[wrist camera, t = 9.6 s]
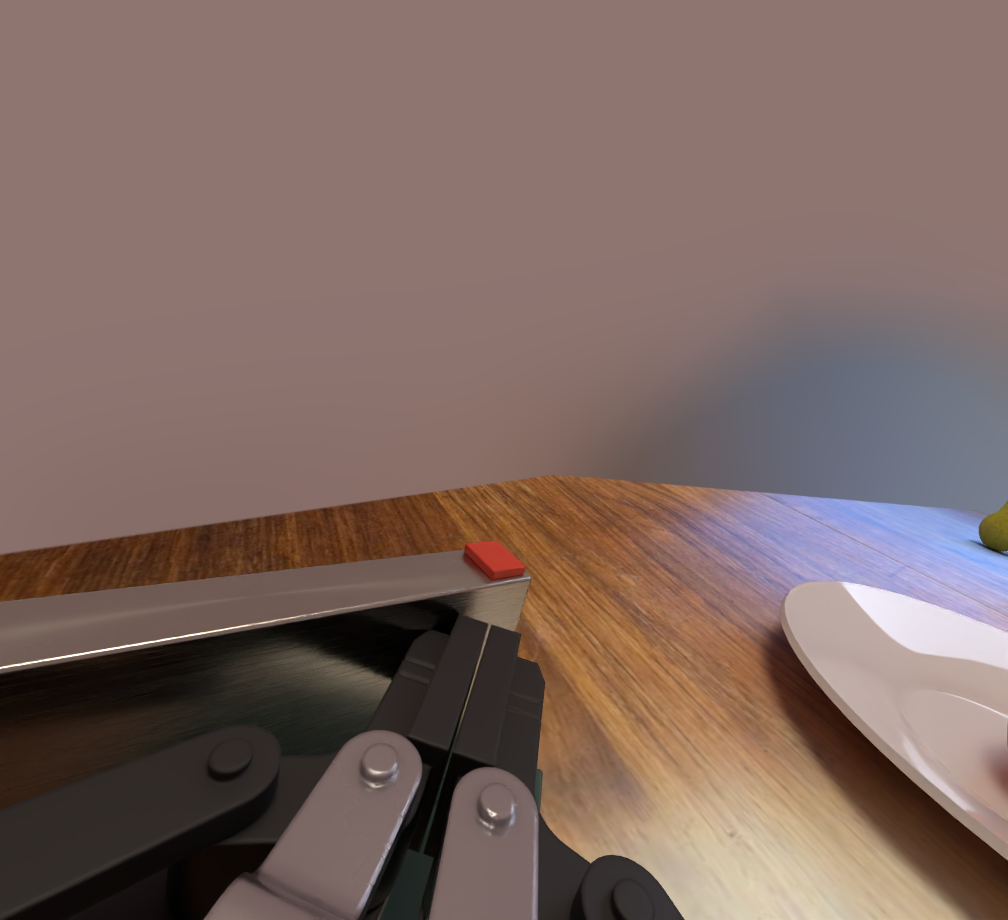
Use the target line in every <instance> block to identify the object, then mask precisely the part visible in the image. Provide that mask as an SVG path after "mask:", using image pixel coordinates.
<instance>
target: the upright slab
mask: <svg viewBox="0 0 1008 920" xmlns="http://www.w3.org/2000/svg"><path fill="white" fill-rule="evenodd" d="M525 569H526V566H525V565H524V564H523V563H521V562H520V561H519V560H518V559H517V558H516V557H515V556H514V555H513V554H511V553H510V552H509V551H508V550H507V549H506V548H505V547H504V546H503V545H501V544H500V543H499V542H498V541H487V542H477V543H468V544H466V545H465V549H464V550H457V551H448V552H439V553H431V554H422V555H413V556H404V557H395V558H386V559H377V560H368V561H360V562H351V563H342V564H333V565H324V566H315V567H306V568H297V569H288V570H280V571H271V572H262V573H253V574H244V575H235V576H226V577H217V578H209V579H200V580H191V581H182V582H173V583H164V584H155V585H146V586H138V587H129V588H120V589H111V590H102V591H93V592H84V593H75V594H67V595H58V596H49V597H40V598H31V599H22V600H13V601H4V602H0V809H2V808H5V807H8V806H10V805H13V804H16V803H19V802H21V801H24V800H27V799H29V798H32V797H35V796H37V795H40V794H43V793H46V792H48V791H51V790H54V789H56V788H59V787H62V786H65V785H67V784H70V783H73V782H75V781H78V780H81V779H83V778H86V777H89V776H92V775H94V774H97V773H100V772H102V771H105V770H108V769H111V768H113V767H116V766H119V765H121V764H124V763H127V762H129V761H132V760H135V759H138V758H140V757H143V756H146V755H148V754H151V753H154V752H156V751H159V750H162V749H165V748H167V747H170V746H173V745H175V744H178V743H181V742H184V741H186V740H189V739H192V738H194V737H197V736H200V735H202V734H205V733H208V732H211V731H213V730H216V729H219V728H222V727H225V726H230V725H238V724H247V725H254V726H259V727H261V728H263V729H266V730H267V731H269V732H270V733H271V734H272V735H273V736H274V737H275V738H276V739H277V741H278V742H279V745H280V748H281V755H309V756H312V755H324V754H329V753H332V752H336V751H338V750H340V749H341V748H342V747H343V746H344V745H345V744H346V743H347V742H348V741H349V740H350V739H352V738H354V737H355V736H357V735H359V734H361V733H363V732H364V730H365V728H366V727H367V725H368V723H369V721H370V720H371V718H372V716H373V714H374V712H375V710H376V709H377V707H378V705H379V703H380V701H381V699H382V698H383V696H384V694H385V692H386V690H387V688H388V687H389V685H390V683H391V681H392V679H393V677H394V676H395V674H396V673H397V670H398V668H399V666H400V665H401V663H402V661H403V660H404V658H405V655H406V654H407V652H408V650H409V648H410V646H411V644H412V643H413V641H414V640H415V639H416V638H418V637H419V636H421V635H422V634H423V633H425V632H426V631H428V630H431V629H432V630H435V631H438V632H441V633H445V634H448V635H450V634H451V631H452V629H453V627H454V624H455V622H456V620H457V617H458V615H459V614H461V615H464V616H467V617H470V618H473V619H476V620H479V621H483V622H486V623H489V625H488V628H487V632H486V635H485V639H484V642H483V646H482V649H481V653H480V656H479V660H478V663H477V667H476V670H475V674H474V677H473V681H472V684H471V687H470V691H469V694H468V698H467V701H466V704H465V707H464V711H463V714H462V717H461V720H460V724H459V727H458V730H457V733H456V736H455V740H454V743H453V746H452V749H451V753H450V756H449V759H448V762H447V766H446V769H445V772H444V775H443V778H442V782H441V785H440V788H439V791H438V795H437V798H436V800H438V799H439V797H440V793H441V790H442V786H443V783H444V779H445V776H446V772H447V769H448V765H449V762H450V758H451V755H452V751H453V748H454V745H455V741H456V738H457V735H458V732H459V728H460V725H461V722H462V719H463V715H464V712H465V709H466V706H467V702H468V699H469V696H470V692H471V689H472V686H473V683H474V679H475V676H476V673H477V670H478V666H479V663H480V660H481V656H482V653H483V650H484V647H485V643H486V640H487V637H488V634H489V630H490V627H491V624H492V625H496V626H499V627H502V628H505V629H508V630H511V631H514V632H515V631H516V628H517V625H518V622H519V618H520V615H521V612H522V609H523V606H524V602H525V599H526V596H527V593H528V589H529V586H530V583H531V576H530V575H528V574H527V573H526V572H525Z"/></svg>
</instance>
